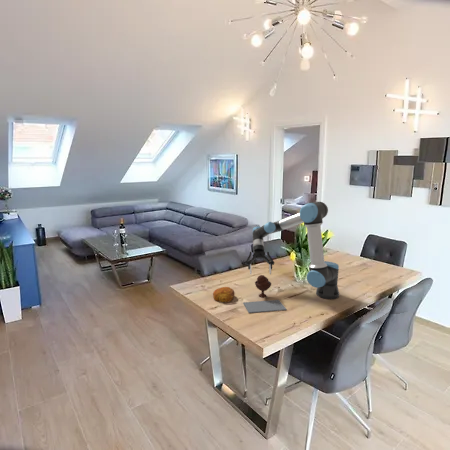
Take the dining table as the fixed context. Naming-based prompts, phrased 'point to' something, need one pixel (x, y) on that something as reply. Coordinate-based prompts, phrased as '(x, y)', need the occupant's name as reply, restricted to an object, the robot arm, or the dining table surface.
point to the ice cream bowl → (262, 285)
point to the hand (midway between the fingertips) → (260, 273)
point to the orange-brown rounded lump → (223, 294)
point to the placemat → (264, 306)
